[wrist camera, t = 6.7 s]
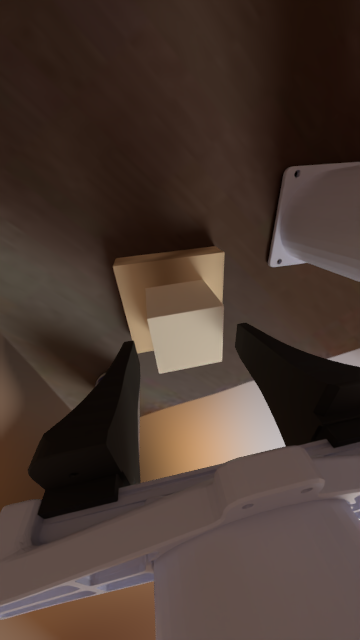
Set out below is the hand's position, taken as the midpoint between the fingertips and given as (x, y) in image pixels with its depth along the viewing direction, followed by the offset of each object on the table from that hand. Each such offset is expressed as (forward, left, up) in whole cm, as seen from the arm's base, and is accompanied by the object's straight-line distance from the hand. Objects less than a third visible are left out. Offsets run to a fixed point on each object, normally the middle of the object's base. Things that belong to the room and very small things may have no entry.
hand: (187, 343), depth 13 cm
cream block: (0, 0, -5) cm, 5 cm away
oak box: (0, 0, -8) cm, 8 cm away
